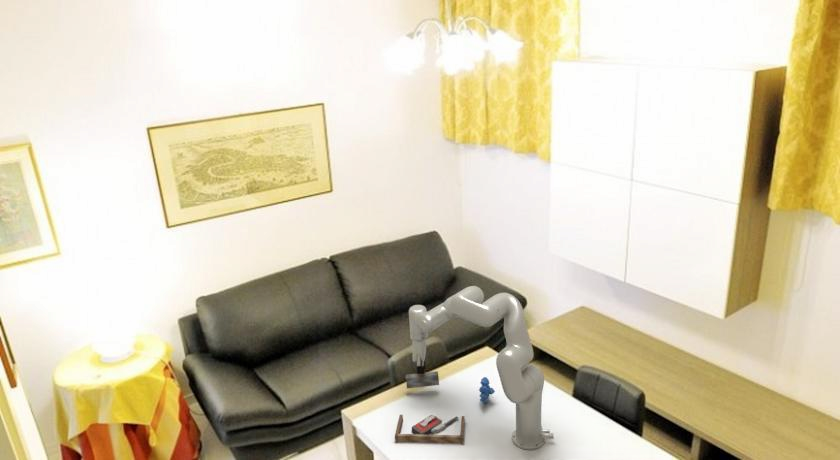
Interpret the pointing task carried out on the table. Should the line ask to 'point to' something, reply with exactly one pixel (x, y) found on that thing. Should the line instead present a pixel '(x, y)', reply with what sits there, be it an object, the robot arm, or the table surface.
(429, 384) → the scraper
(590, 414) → the table surface
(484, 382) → the grapes
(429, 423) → the walkie-talkie
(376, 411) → the table surface
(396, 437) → the dock
